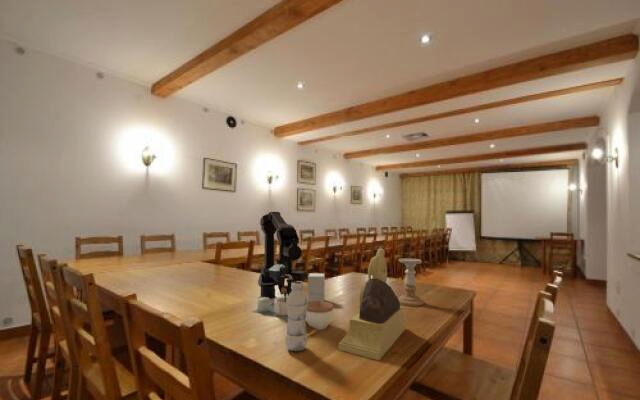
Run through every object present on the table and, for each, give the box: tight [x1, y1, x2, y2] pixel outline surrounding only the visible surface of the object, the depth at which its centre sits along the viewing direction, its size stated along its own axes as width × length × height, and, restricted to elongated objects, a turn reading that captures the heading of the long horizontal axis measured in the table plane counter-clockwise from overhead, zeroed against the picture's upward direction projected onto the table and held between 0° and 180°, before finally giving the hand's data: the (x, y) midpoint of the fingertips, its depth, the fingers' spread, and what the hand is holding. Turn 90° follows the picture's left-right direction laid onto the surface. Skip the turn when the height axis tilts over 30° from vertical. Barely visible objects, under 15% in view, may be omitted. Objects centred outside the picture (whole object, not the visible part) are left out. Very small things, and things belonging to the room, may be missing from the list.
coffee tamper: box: [281, 284, 288, 302], centre depth 126 cm, size 6×6×9 cm
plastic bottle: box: [284, 281, 308, 352], centre depth 93 cm, size 6×7×20 cm
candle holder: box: [397, 257, 425, 307], centre depth 144 cm, size 12×12×20 cm
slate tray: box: [251, 302, 288, 321], centre depth 127 cm, size 22×16×1 cm
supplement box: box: [307, 272, 326, 302], centre depth 144 cm, size 7×7×13 cm
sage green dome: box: [256, 296, 271, 314], centre depth 127 cm, size 5×5×5 cm
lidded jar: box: [306, 300, 334, 331], centre depth 112 cm, size 11×11×9 cm
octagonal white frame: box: [273, 296, 288, 316], centre depth 125 cm, size 8×10×5 cm
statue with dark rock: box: [338, 247, 406, 361], centre depth 102 cm, size 28×13×30 cm, turn 149°
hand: (285, 294), depth 126 cm, fingers closed on coffee tamper, 3 cm apart
